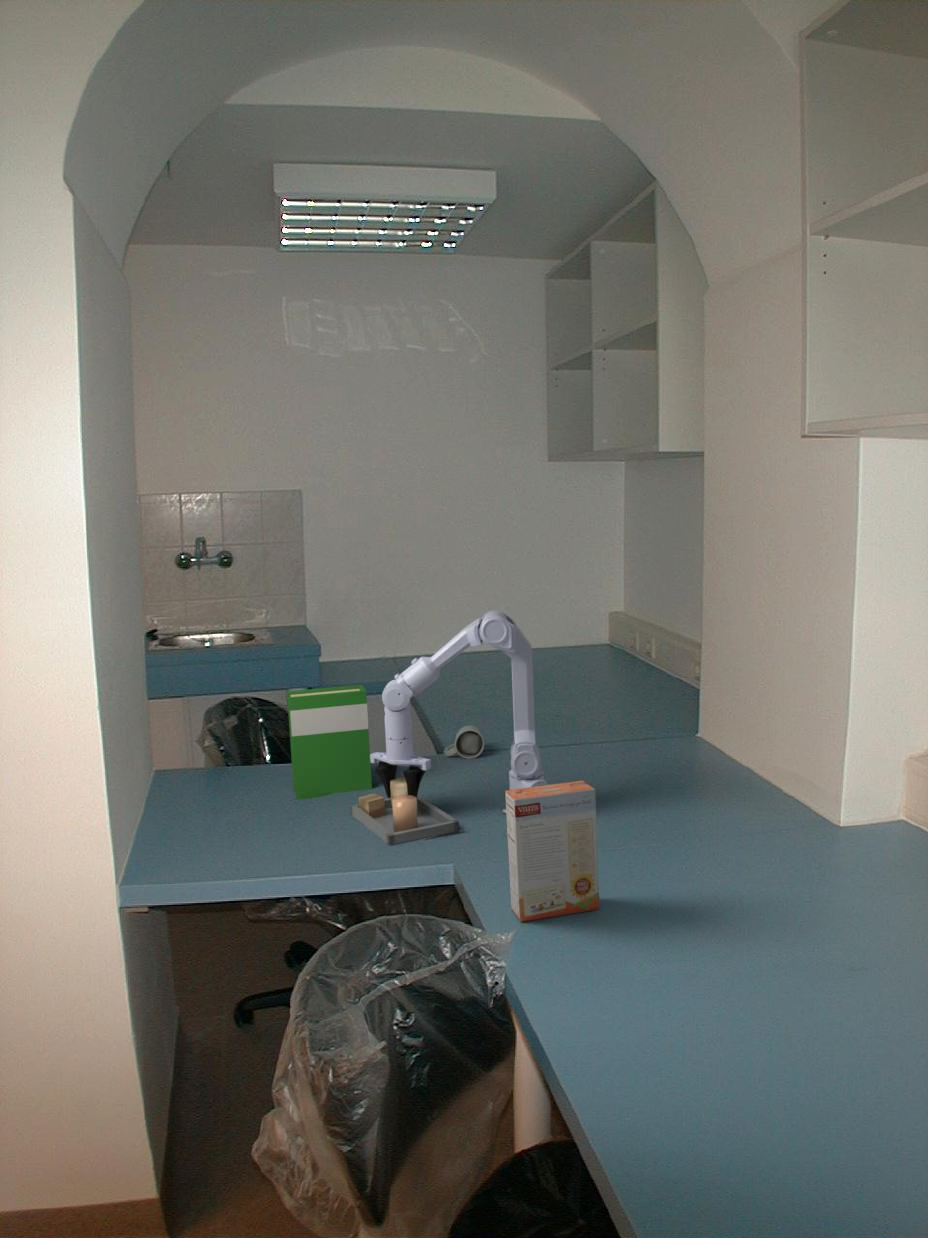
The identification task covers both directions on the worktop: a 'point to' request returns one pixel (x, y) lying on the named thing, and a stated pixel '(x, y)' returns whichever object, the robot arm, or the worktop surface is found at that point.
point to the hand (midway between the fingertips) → (402, 798)
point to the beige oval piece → (398, 788)
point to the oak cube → (372, 805)
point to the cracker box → (552, 850)
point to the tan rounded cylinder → (404, 813)
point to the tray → (428, 825)
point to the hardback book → (329, 741)
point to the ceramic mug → (467, 743)
